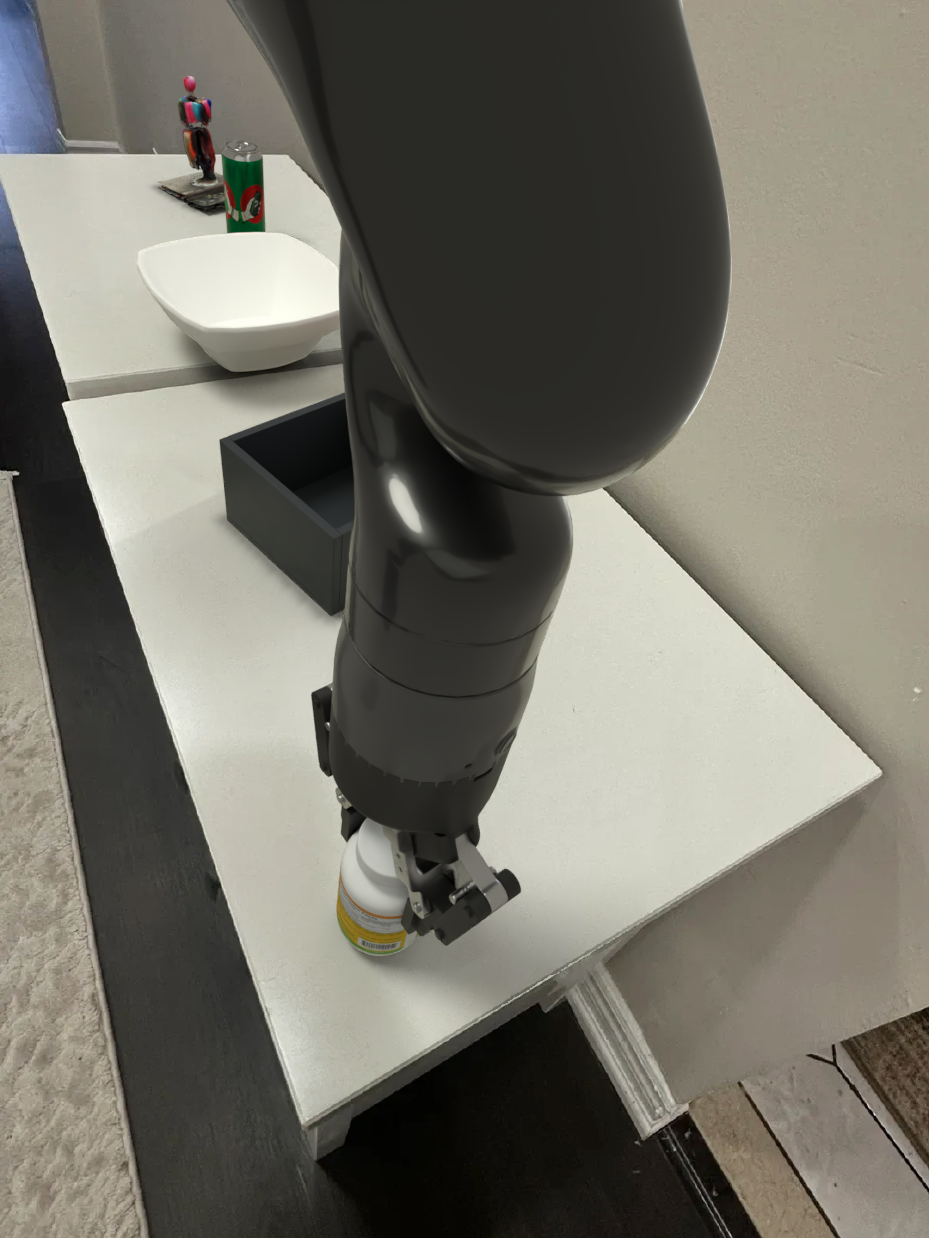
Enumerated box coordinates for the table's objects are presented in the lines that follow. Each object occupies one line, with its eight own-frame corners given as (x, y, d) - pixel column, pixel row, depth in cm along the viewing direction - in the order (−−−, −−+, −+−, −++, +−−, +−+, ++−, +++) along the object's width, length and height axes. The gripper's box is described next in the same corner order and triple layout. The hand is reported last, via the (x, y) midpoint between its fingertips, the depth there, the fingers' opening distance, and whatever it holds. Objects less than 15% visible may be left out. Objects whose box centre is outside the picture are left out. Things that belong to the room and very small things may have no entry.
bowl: (203, 419, 77) (194, 340, 71) (126, 322, 87) (113, 245, 81) (377, 378, 87) (383, 305, 81) (291, 294, 97) (290, 224, 91)
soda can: (270, 240, 107) (267, 144, 98) (259, 254, 103) (254, 156, 94) (235, 232, 107) (228, 135, 98) (222, 246, 103) (214, 147, 94)
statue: (160, 197, 113) (134, 74, 103) (212, 184, 119) (193, 66, 108) (206, 215, 108) (184, 88, 98) (258, 201, 114) (243, 79, 103)
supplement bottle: (390, 853, 49) (407, 775, 42) (442, 922, 47) (469, 851, 40) (318, 902, 46) (322, 827, 39) (369, 977, 44) (384, 912, 37)
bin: (331, 616, 63) (334, 539, 56) (226, 519, 68) (218, 439, 62) (455, 544, 71) (470, 469, 64) (353, 463, 76) (357, 387, 70)
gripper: (254, 609, 32) (265, 808, 44) (463, 895, 25) (407, 1034, 37) (404, 551, 35) (375, 749, 48) (619, 786, 29) (521, 945, 41)
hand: (389, 874), depth 42 cm, fingers closed on supplement bottle, 5 cm apart
